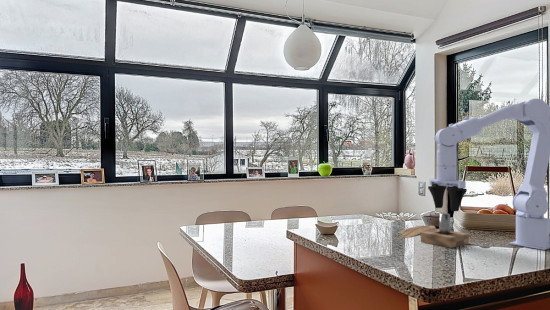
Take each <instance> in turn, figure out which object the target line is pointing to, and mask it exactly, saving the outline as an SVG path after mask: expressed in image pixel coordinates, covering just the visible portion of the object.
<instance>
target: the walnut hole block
mask: <svg viewBox="0 0 550 310" xmlns="http://www.w3.org/2000/svg"><path fill="white" fill-rule="evenodd" d="M469 235H470V234H469V233H465V232H460V231H453V230H450V235H444V234H439V228H436V230H431V231H425V232H421V235H420V242H421V243H424V244H428V245H429V244H430V245H435V246H439V247H444V248H449V249H450V248H455V247H459V246H465V245H468V244H470V242H469V241H470V240H469V237H470V236H469Z"/></svg>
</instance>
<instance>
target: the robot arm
mask: <svg viewBox="0 0 550 310" xmlns="http://www.w3.org/2000/svg"><path fill="white" fill-rule="evenodd" d="M506 119H507V120H516V122H519V124H521V125H523V126H525V127H526V128H528V129H529V131H531V133H532V138H531V142H530V147H529V153H528V156H527V162H526V168H525V171H524V176H523V182H522V183H521V184H520V185H519V187H518V189H517V193H516V194H515V196H514V197H513V198H512V202H511V203H512V207H513V209H514V210H515V211H516V212H515V240H514V241H511V242H509V244H510V245H513V246H519V247H525V248H531V249H537V250H543V251H546V250H548V249H550V218H548V217H545V215H546V213H547V212H548V209H549V202H548V192H547V190H546V187H544V186H545V181H546V177H547V172H548V171H547V170H548V165H549V162H550V105H549V104H548V103H547V102H545V101H544V100H543V99H541V98H532V99H530V100H526V101H522V102H518V103H513V104H510V105H506V106H503V107H502V108H499V109H496V110H495V111H492V112H489V113H488V114H486V115H483V116H482V117H478V118H477V117H474V116H465V117H463V118H462V120H461V121H459V122H455V123H450V124H448V126H446V127H444V128H441V129H439V130H438V131H437V132H436V134H435V137H434V139H433V140H434V142H435V143H436V145H437V146H436V178H429V185H428V186H427V189H428V191H429V192H430V194H431V197H432V199H433V200H432V201H433V202H434V203H433V204H434V206H435V207H434V208H435V209H442V208H443V206H444V197H445V193H446V191H447V193H448V196H449V204H450V205H449V207H450V211H451V212H459V210H460V206H461V203H462V200H463V198H464V195H465V194H466V193H467V190H468V189H467V187H466V184H467V183H466V181H462V180H457V177H458V176H457V172H458V170H457V169H458V167H457V165H458V164H457V162H458V161H457V159H458V158H457V156H458V154H457V144H458V143H459V142H463V141H465V140H468V139H469V138H473V137H474V136H477V135H480V134H481V132H482V131H483V129H484V128H486V127H487V126H490V125H494V124H495V123H499V122H502V121H504V120H506Z"/></svg>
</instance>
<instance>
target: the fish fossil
mask: <svg viewBox="0 0 550 310" xmlns="http://www.w3.org/2000/svg"><path fill="white" fill-rule="evenodd" d="M436 229H437V227H436V226H435V225H417V226H412V227H408V228H405V229H402V230H400V231H398V232H397V234H401V235H402V236H399V239H409V238H414V237H418V236H421V232H425V231H431V230H436Z"/></svg>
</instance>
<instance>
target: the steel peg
mask: <svg viewBox="0 0 550 310" xmlns="http://www.w3.org/2000/svg"><path fill="white" fill-rule="evenodd" d="M438 217H439V225H438V227H439V228H438V229H439V234H444V235H450V231H451V230H450V229H451V214H450V213H447V212H444V213H443V212H441V213H439V216H438Z"/></svg>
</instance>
